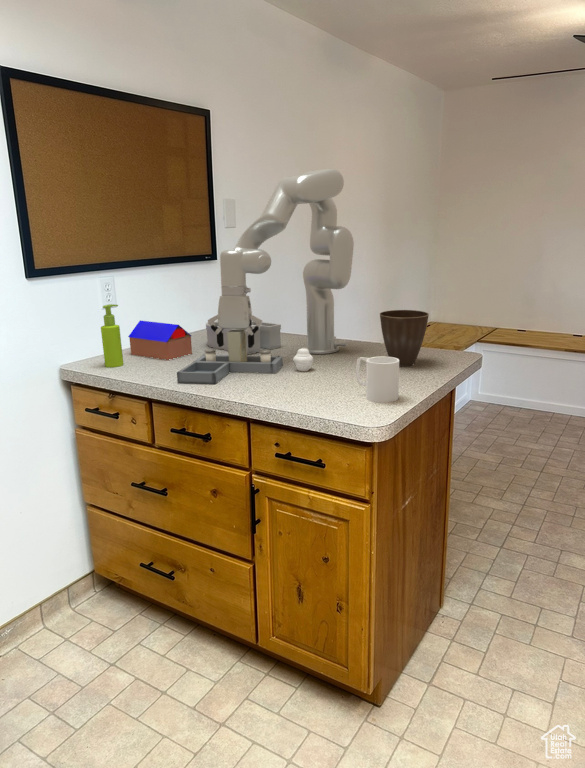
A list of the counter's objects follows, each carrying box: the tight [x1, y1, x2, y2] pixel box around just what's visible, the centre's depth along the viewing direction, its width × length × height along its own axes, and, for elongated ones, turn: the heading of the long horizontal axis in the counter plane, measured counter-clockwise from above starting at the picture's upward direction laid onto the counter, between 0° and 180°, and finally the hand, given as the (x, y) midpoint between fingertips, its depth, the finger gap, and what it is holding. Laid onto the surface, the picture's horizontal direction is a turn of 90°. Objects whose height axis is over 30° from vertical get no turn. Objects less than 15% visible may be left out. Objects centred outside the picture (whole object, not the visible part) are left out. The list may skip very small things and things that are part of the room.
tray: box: [176, 361, 231, 385], centre depth 176 cm, size 12×14×3 cm
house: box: [128, 320, 193, 361], centre depth 209 cm, size 12×20×12 cm, turn 54°
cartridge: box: [259, 348, 272, 363], centre depth 184 cm, size 3×3×6 cm
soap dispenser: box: [100, 303, 124, 368], centre depth 193 cm, size 6×7×20 cm
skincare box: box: [227, 329, 248, 362], centre depth 185 cm, size 6×4×12 cm
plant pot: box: [379, 309, 430, 367], centre depth 184 cm, size 15×15×16 cm
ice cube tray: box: [205, 319, 282, 355], centre depth 219 cm, size 17×28×9 cm, turn 47°
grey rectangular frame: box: [192, 354, 284, 374], centre depth 186 cm, size 27×10×3 cm, turn 78°
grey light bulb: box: [204, 347, 217, 361], centre depth 188 cm, size 3×3×6 cm
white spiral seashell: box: [292, 347, 314, 372], centre depth 181 cm, size 6×6×7 cm
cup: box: [355, 355, 400, 404], centre depth 152 cm, size 8×12×10 cm
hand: (235, 346), depth 184 cm, fingers open, 9 cm apart
